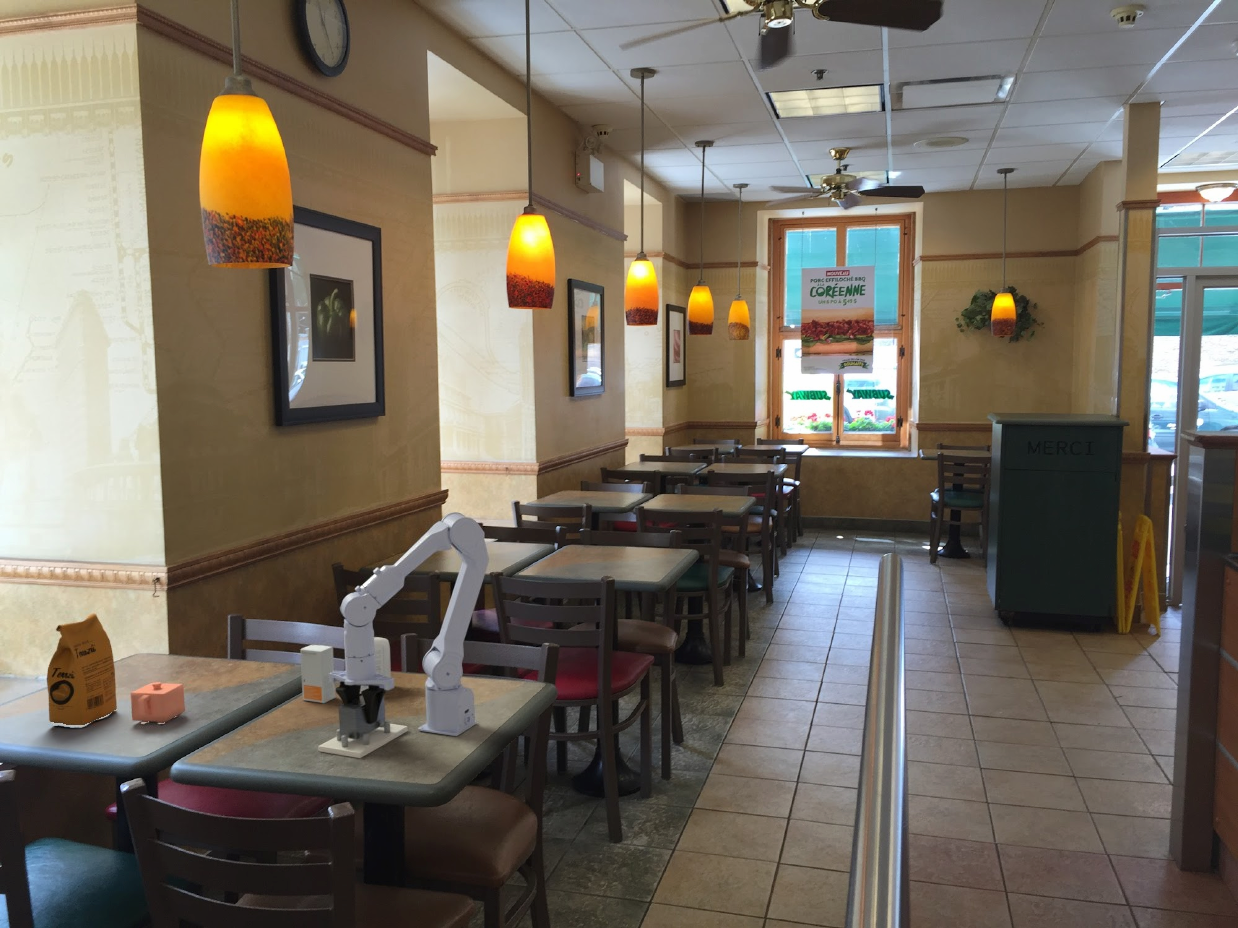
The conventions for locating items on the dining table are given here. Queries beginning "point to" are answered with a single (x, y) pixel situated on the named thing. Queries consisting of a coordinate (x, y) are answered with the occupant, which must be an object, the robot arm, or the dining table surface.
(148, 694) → the pink cube teapot
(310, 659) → the skincare box
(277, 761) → the dining table surface
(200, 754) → the dining table surface
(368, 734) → the pin tray
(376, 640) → the photo printer
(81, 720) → the coffee package
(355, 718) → the block
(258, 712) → the dining table surface
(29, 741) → the dining table surface
